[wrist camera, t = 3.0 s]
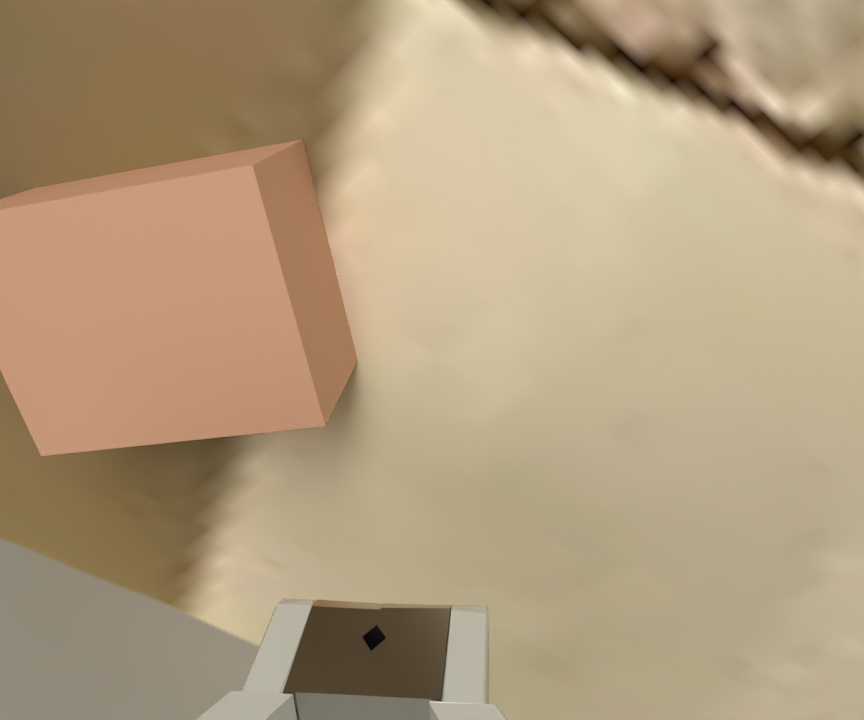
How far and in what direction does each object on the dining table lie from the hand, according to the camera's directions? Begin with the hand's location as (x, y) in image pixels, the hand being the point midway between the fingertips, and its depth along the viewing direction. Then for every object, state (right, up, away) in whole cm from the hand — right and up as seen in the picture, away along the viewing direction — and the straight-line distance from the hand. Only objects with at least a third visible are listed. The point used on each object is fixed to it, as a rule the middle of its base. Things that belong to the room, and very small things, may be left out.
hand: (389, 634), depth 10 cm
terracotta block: (-8, +7, +15) cm, 19 cm away
